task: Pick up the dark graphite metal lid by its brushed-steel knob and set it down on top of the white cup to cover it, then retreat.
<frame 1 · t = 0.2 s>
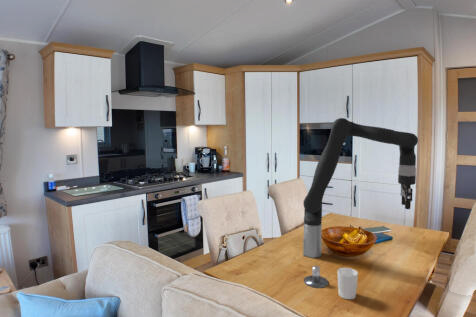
hand: (405, 206, 157), 29 cm above the table, fingers open, 8 cm apart
white cup: (347, 295, 131), on the table
lid: (315, 282, 143), on the table
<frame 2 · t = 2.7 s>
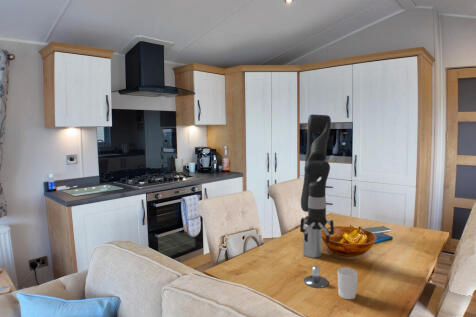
hand: (316, 242, 141), 18 cm above the table, fingers open, 8 cm apart
nothing on the table moved.
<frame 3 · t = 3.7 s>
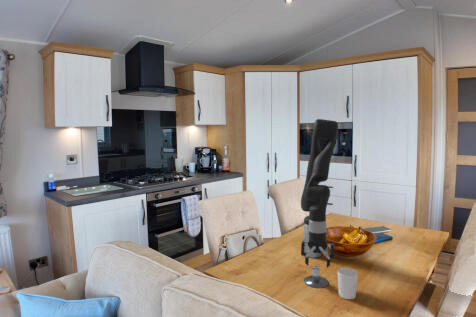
hand: (317, 265, 141), 8 cm above the table, fingers open, 8 cm apart
nothing on the table moved.
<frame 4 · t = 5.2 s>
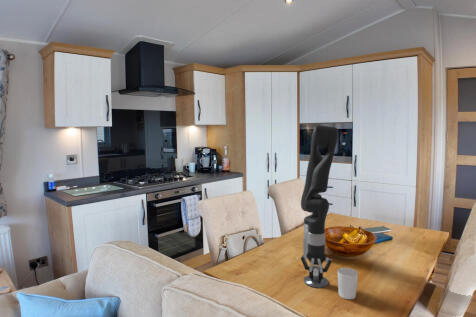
hand: (316, 279, 142), 1 cm above the table, fingers closed on lid, 3 cm apart
lid: (316, 282, 142), on the table, touching gripper
everything else where it was.
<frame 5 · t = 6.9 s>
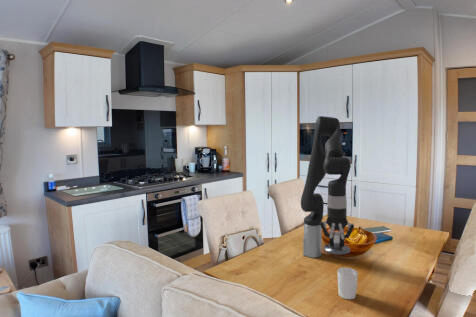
hand: (336, 246, 132), 19 cm above the table, fingers closed on lid, 3 cm apart
lid: (336, 249, 132), point 18 cm above the table, touching gripper
everything else where it was.
when the fingers open (13 cm above the table, at t = 8.7 s): lid drops 1 cm, resting on white cup.
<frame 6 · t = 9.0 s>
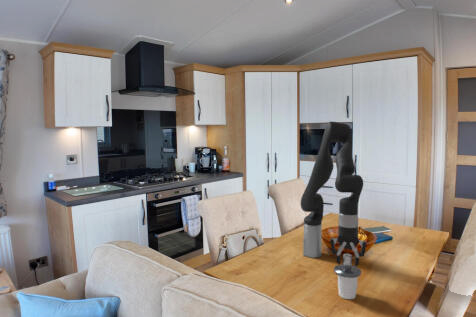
hand: (347, 264, 130), 13 cm above the table, fingers open, 6 cm apart
white cup: (347, 295, 131), on the table, touching lid
lid: (347, 271, 130), point 10 cm above the table, touching white cup
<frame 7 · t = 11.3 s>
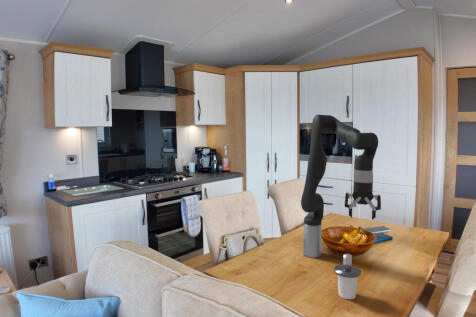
hand: (361, 218, 136), 30 cm above the table, fingers open, 8 cm apart
nothing on the table moved.
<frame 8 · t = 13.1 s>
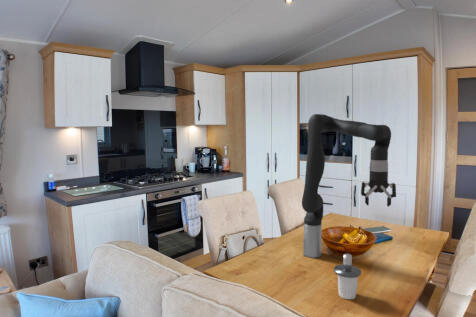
hand: (377, 205, 144), 33 cm above the table, fingers open, 8 cm apart
nothing on the table moved.
at the end: lid 0.1 cm from the white cup (horizontally); lid point 9.9 cm above the table; lid tilted 0° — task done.
